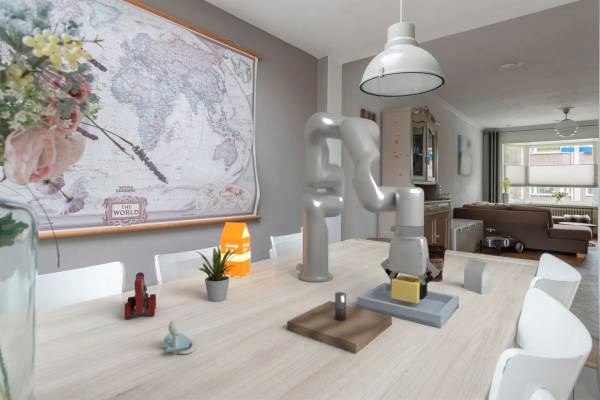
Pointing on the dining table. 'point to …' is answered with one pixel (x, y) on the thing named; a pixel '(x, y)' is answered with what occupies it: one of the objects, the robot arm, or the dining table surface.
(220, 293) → the house plant
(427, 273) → the coffee cup
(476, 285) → the grey house shaped block
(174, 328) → the pacifier
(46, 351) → the dining table surface
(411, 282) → the collar
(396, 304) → the tray
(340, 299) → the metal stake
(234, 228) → the orange juice
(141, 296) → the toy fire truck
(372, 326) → the board
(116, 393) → the dining table surface
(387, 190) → the robot arm
